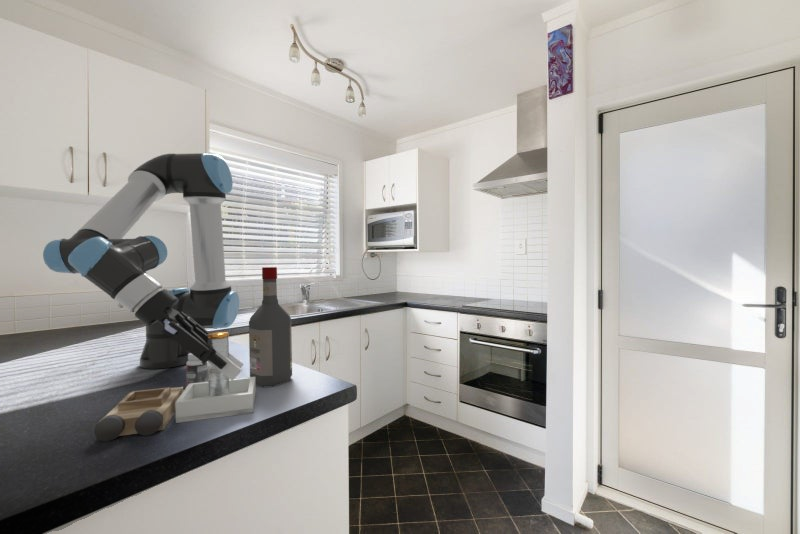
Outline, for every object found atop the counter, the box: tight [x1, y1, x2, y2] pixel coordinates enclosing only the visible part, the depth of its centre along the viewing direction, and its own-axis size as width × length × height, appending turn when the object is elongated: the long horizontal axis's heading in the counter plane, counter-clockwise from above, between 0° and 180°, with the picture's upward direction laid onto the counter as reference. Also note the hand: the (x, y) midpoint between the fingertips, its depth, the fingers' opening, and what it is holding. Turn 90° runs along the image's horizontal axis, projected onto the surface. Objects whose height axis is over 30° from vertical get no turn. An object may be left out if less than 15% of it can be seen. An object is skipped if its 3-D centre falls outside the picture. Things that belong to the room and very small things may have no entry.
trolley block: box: [93, 386, 184, 442], centre depth 74 cm, size 18×10×4 cm, turn 19°
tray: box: [175, 376, 257, 424], centre depth 79 cm, size 12×14×4 cm
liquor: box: [248, 266, 293, 388], centre depth 96 cm, size 9×9×30 cm
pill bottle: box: [185, 353, 209, 387], centre depth 93 cm, size 5×5×8 cm
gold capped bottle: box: [207, 331, 230, 397], centre depth 79 cm, size 4×4×13 cm
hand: (238, 371), depth 81 cm, fingers open, 4 cm apart
